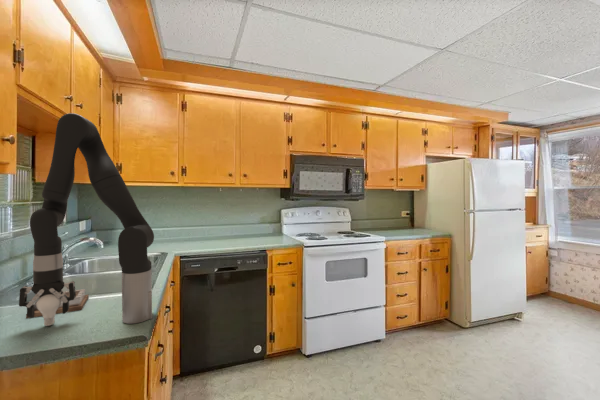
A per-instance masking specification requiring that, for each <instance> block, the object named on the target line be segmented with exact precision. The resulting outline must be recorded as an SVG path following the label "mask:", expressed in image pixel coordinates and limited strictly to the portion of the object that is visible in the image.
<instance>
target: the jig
mask: <svg viewBox="0 0 600 400" xmlns="http://www.w3.org/2000/svg"><path fill="white" fill-rule="evenodd" d="M63 292H64V293H65V294H66V295H67V296H68V297H69V296H70V294H69V290H66V291H63ZM75 292H76V297H75V298H74V300H71V301H69V310H68V311H67V312H66V313H70V312H76V311H82V310H83V309H84V307H85V306H86V303H87V302H88V300H89V299H90V297H89V294H86V289H85V288H82V289H75ZM37 301H38V299H37ZM37 301H36V302H35V303H34V304H33V305H34V309H35V315H34V317H33V318H37V317H38V318H39V317H43V315H42V313H41V312H40V311H39V310H38V309H37V307H36V303H37ZM58 314H63V301H62V300H61V304H60V306H59V308H58V309H57V311H56V314H55V315H58ZM25 317H26V319H30V318H29V317H28V316H27V313H26V314H25Z"/></svg>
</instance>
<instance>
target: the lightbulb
mask: <svg viewBox="0 0 600 400" xmlns="http://www.w3.org/2000/svg"><path fill="white" fill-rule="evenodd" d="M37 300H38V301H37V303H36V307H37V309H38V310H39V311H40V312H41V313H42V315H43V316H42V318H43V320H44V321H43V324H44V326H45V327H51V326H53V325H54V324H55V316H56V315H57V314H56V311H57V309H58V308H59V306H60V304H61V299H58V298H57V297H56V296H55V295H51V294H49V295H44V296H42V297H41V298H38V299H37Z"/></svg>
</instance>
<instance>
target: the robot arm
mask: <svg viewBox="0 0 600 400" xmlns="http://www.w3.org/2000/svg"><path fill="white" fill-rule="evenodd" d="M55 130H56V131H55V139H54V146H53V147H54V148H53V150H52V151H53V152H52V157H51V163H50V167H49V171H48V175H47V177H46V180H45V181H44V182H45V183H44V185H43V189H42V192H41V197H42V198H43V202H42V207H41V208H38V209H36V210H35V211H34V212H32V214H31V216H30V219H29V227H30V232H31V236H32V239H33V261H32V279H33V280H32V284H33V285H32V286H27V285H23V287H21V288H20V289H19V300H18V307H21V308H23V307H26V314H27V316H28V317H29V318H28V319H33V318H35V317H34V315H35V309H34V305H33V304H34V303H35V302H36V301H37V300H38V299H39V298H41V297H42V296H44V295H49V294H51V295H55V296H56V297H57V298H58V299H61V300H62V301H63V313H62V315H65V314H67V313H68V312H67V311H68V310H69V301H71V300H74V298H75V297H76V292H75V290H76V284H75V283H76V282H75V281H74V280H72V281H70V282H64V260H63V259H64V258H63V247H62V246H63V244H62V243H63V242H62V238H61V237H60V236H59V232H58V227H59V226H60V225H61V224H63V222H64V221H65V220H64V219H65V217H66V214H67V208H68V201H69V200H68V199H69V197H70V195H71V191H72V189H73V185H74V183H75V177H76V176H75V173H76V172H75V170H76V168H75V162H76V161H75V160H76V154H77V150H78V149H79V151H80V153H81V154H82V156H83V157H84V160H85V162H86V167H87V172H88V173H87V174H88V180H89V181H90V184H91V186H92V187H93V190H94V191H95V194H96V195H97V196H98V198H99V200H101V202H102V203H103V204H104V205H105V206H106V207H107V208H108V209H109V210H110V211H111V212H112V213H113V214H114V215H115V216H116V217H117V218H118V219H119V221H120V223H121V224H122V226H123V229H122V230H121V232H120V233H119V236H118V239H117V250H118V251H117V252H118V262H119V266H120V268H121V309H122V310H121V311H122V312H121V317H122V318H121V319H122V320H121V321H122V323H124V324H127V325H129V324H132V325H133V324H139V323H142V322H143V323H144V322H146V321H148V320H152V319H153V291H152V290H153V289H152V288H153V287H152V285H153V284H152V261H151V260H150V259H149V257H148V248H149V247H151V245H152V244H153V243H154V241H155V240H154V239H155V234H154V230H153V228H152V227H151V226H150V224H149V223H148V221H147V220H146V219H145V217H144V216H143V214H142V213H141V211H140V210H139V208H138V206H137V204H136V202H135V200H134V198H133V196H132V195H131V193H130V191H129V189H128V187H127V184H126V183H125V181H124V179H123V177H122V175H121V173H120V172H119V170H118V168H117V166H116V165H115V163H114V162H113V160H112V158H111V157H110V155H109V154H108V151H107V149H106V148H105V145H104V143H103V140H102V138H101V135H100V133H99V129H98V127H97V126H96V125H95V124H94V123H93V122H92V121H90V120H89V119H88V118H86V117H84V116H82V115H80V114H78V113H75V112H68V113H65V114H63V115H61V116H60V118H58V121H57V125H56V128H55ZM64 288H66V289H67V290H68V291H69V294H70V296H69V297H68V296H67V295H66V294H65V293H64V292H65V291H64V290H63V289H64ZM30 292H33V293H34V296H33V297H32V298H31V299H30V301H28V294H29V293H30Z"/></svg>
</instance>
